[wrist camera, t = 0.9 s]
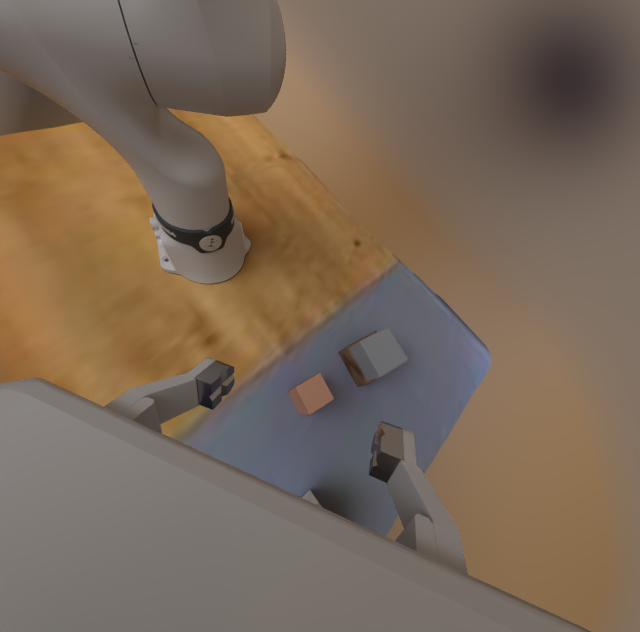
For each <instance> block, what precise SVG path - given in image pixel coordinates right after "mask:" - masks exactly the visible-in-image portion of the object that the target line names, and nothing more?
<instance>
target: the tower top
mask: <svg viewBox="0 0 640 632" xmlns="http://www.w3.org/2000/svg"><path fill="white" fill-rule="evenodd" d="M349 349H350V350H351V352H352V354H353V356H354V358H355V360H356V361H357V363H358V365H359V367H360V369H361V370H362V372H363V374H364V376H365V378H366V379H367V381H368V380H372V379H376V378H380V377H382V376H383V375H385V374H387V373H388V372H390V371H391V370H393V369H395V368H396V367H398V366H399V365H401V364H403V363H404V362H406V361H408V358H407V357H406V355H405V353H404V352H403V350H402V348H401V347H400V345H399V343H398V342H397V340H396V339H395V337H394V335H393V334H392V332H391V330H390V329H389V327H387V328H385V329H383V330H381V331H379V332H377V333H375V334H373V335H371V336H369V337H367V338H365V339H364V340H362V341H360V342H358V343H357V344H355V345H353V346H352V347H350V348H349Z"/></svg>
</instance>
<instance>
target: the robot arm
mask: <svg viewBox="0 0 640 632" xmlns="http://www.w3.org/2000/svg"><path fill="white" fill-rule="evenodd" d="M285 65H286V43H285V32H284V26H283V21H282V17H281V13H280V9H279V6H278V3H277V0H0V70H1V71H3V72H5V73H7V74H9V75H11V76H13V77H14V78H16V79H18V80H20V81H22V82H24V83H26V84H27V85H29V86H31V87H33V88H34V89H36V90H38V91H39V92H41V93H43V94H44V95H46V96H47V97H49V98H51V99H52V100H54V101H55V102H57V103H58V104H60V105H61V106H63V107H64V108H66V109H67V110H68V111H70V112H71V113H73V114H74V115H75V116H77V117H78V118H79V119H80V120H82V121H83V122H84V123H86V124H87V125H88V126H89V127H91V128H92V129H93V130H94V131H95V132H97V133H98V134H99V135H100V136H101V137H102V138H104V139H105V140H106V141H107V142H108V143H109V144H110V145H111V146H112V147H113V148H114V149H115V150H116V151H117V152H118V153H119V154H120V155H121V156H122V157H123V158H124V159H125V160H126V161H127V163H128V164H129V165H130V166H131V168H132V169H133V171H134V172H135V174H136V175H137V177H138V178H139V180H140V182H141V183H142V185H143V187H144V188H145V190H146V192H147V194H148V195H149V197H150V199H151V201H152V206H153V210H154V217H152V218H149V220H150V224H151V226H152V228H153V230H156V231H154V233H155V236H156V238H157V243H158V250H159V257H160V264H161V267H162V269H163V270H164V271H166V272H169V273H175V274H180V275H182V276H184V277H186V278H187V279H189V280H192V281H195V282H198V283H205V284H212V283H219V282H223V281H225V280H228V279H230V278H231V277H233V276H234V275H235V274H236V273H237V272H238V271H239V270H240V269H241V267H242V265H243V262H244V258H245V255H246V253H247V252H248V251H249V250H250V248H251V242H250V240H249V239H248V238H247V237H246V236H245V235H244V233H243V228H242V224H241V222H240V221H238V219H237V218H236V217H235V216H234V210H233V206H232V203H231V200H230V198H229V196H228V190H227V182H226V175H225V167H224V163H223V161H222V159H221V157H220V155H219V153H218V152H217V150H216V149H215V147H214V146H213V145H212V144H211V142H210V141H209V140H208V139H207V138H206V137H205V136H204V135H203V134H201V133H200V132H199V131H197V130H196V129H194V128H193V127H191V126H189V125H188V124H186V123H184V122H183V121H181V120H180V119H178V118H177V117H176V116H175V115H173V114H172V113H171V112H170V111H169V110H168V109H167V108H170V109H177V110H184V111H191V112H198V113H205V114H212V115H219V116H226V117H228V116H241V115H251V114H258V113H265V112H267V111H268V109H269V108H270V107H271V106H272V104H273V103H274V101H275V99H276V98H277V96H278V93H279V91H280V88H281V85H282V82H283V78H284V72H285ZM167 260H169V261H168V262H166V261H167ZM233 373H234V367H233V366H230V365H228V364H225V363H223V362H220V361H218V360H215V359H212V358H210V357H209V358H206V359H205V360H204V361H202V362H201V363H200V364H199V365H197V366H196V367H195V368H193V369H192V370H191V371H189V372H188V373H187V374H186V375H184V374H181V375H178V376H174V377H171V378H167V379H164V380H160V381H157V382H153V383H149V384H146V385H142V386H139V387H135V388H132V389H130V390H128V391H127V392H125V393H124V394H122V395H121V396H119V397H118V398H116V399H115V400H113V401H112V402H110V403H109V404H107V405H106V406H104V407H103V406H101V405H99V404H96V403H94V402H92V401H90V400H88V399H86V398H83V397H81V396H79V395H77V394H75V393H73V392H70V391H68V390H66V389H64V388H62V387H60V386H58V385H55V384H53V383H51V382H49V381H47V380H44V379H41V378H31V379H24V380H17V381H12V382H6V383H1V384H0V632H590V631H588V630H587V629H585V628H583V627H581V626H578V625H576V624H574V623H572V622H570V621H568V620H565V619H563V618H561V617H559V616H557V615H555V614H552V613H550V612H548V611H546V610H544V609H541V608H539V607H537V606H535V605H533V604H531V603H528V602H526V601H524V600H522V599H520V598H518V597H515V596H513V595H511V594H509V593H507V592H505V591H502V590H500V589H498V588H496V587H494V586H492V585H489V584H487V583H485V582H483V581H481V580H478V579H476V578H474V577H472V576H470V575H468V573H467V568H466V564H465V558H464V554H463V549H462V543H461V538H460V534H459V530H458V528H457V526H456V525H455V523H454V522H453V520H452V518H451V517H450V515H449V513H448V512H447V510H446V509H445V507H444V505H443V504H442V502H441V500H440V499H439V497H438V496H437V494H436V492H435V491H434V489H433V487H432V486H431V484H430V483H429V481H428V479H427V478H426V476H425V475H424V473H423V471H422V470H421V468H420V467H418V466H417V461H416V450H415V440H414V434H413V432H411V431H408V430H405V429H402V428H400V427H397V426H394V425H391V424H389V423H386V422H383V421H381V422H380V424H379V426H378V431H376V432H375V435H374V438H373V441H372V447H371V453H372V458H371V460H370V468H369V475H370V476H372V477H375V478H377V479H379V480H381V481H384V482H386V483H387V486H388V488H389V491H390V494H391V496H392V499H393V501H394V504H395V506H396V509H397V512H398V514H399V517H400V519H401V522H402V525H403V527H404V530H403V531H402V533H401V534H400V535H399V536H398V538H397V539H396V540H395V541H394V540H392V539H389V538H387V537H385V536H383V535H381V534H379V533H376V532H374V531H372V530H370V529H368V528H366V527H363V526H361V525H359V524H357V523H355V522H353V521H350V520H348V519H346V518H344V517H342V516H340V515H337V514H335V513H333V512H331V511H329V510H326V509H324V508H322V507H320V506H318V505H316V504H313V503H311V502H309V501H307V500H305V499H303V498H300V497H298V496H296V495H294V494H292V493H290V492H287V491H285V490H283V489H281V488H279V487H277V486H274V485H272V484H270V483H268V482H266V481H264V480H261V479H259V478H257V477H255V476H253V475H251V474H248V473H246V472H244V471H242V470H240V469H237V468H235V467H233V466H231V465H229V464H227V463H224V462H222V461H220V460H218V459H216V458H214V457H211V456H209V455H207V454H205V453H203V452H201V451H198V450H196V449H194V448H192V447H190V446H188V445H185V444H183V443H181V442H179V441H177V440H174V439H172V438H170V437H168V436H166V435H164V434H162V430H161V426H160V424H162V423H164V422H166V421H168V420H170V419H172V418H174V417H176V416H178V415H180V414H182V413H185V412H187V411H189V410H191V409H193V408H195V407H197V406H199V405H201V406H204V407H206V408H209V409H212V410H213V409H214V408H215V407H216V406H217V405H218V404H219V403H220V402H221V401H222V396H225V395H227V394H228V393H229V392H230V391H231V389H232V387H233V385H234V377H233V375H232V374H233Z"/></svg>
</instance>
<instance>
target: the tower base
mask: <svg viewBox="0 0 640 632" xmlns="http://www.w3.org/2000/svg"><path fill="white" fill-rule="evenodd" d="M375 333H377V332H376V331H375V332H373V333H371V334H370V335H368V336H366V337H364V338H362V339H360V340H359V341H357V342H355V343H353V344H351V345H349V346H348V347H346V348H344V349H343V350H341V351H340V352H339V355H340V357H341V359H342V360H343V362H344V364H345V366H346V367H347V369H348V371H349V373H350V374H351V376H352V378H353V380H354V381H355V383H356V385H357V386H362V385H366V384H369V383H370V382H372V381H373V380H375V379H372V380H368V381H367V379H366V378H365V376H364V374H363V372H362V370H361V369H360V367H359V365H358V363H357V361H356V360H355V358H354V356H353V354H352V352H351V350H350V349H349V348H350V347H352V346H353V345H355V344H357V343H358V342H360V341H362V340H364V339H365V338H367V337H369V336H371V335H373V334H375Z"/></svg>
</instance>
